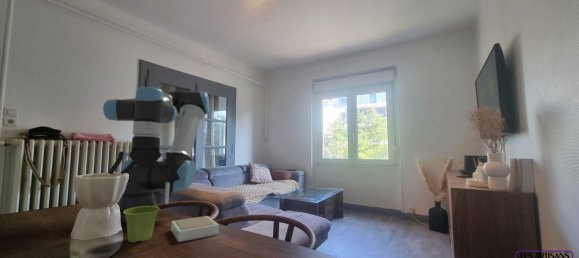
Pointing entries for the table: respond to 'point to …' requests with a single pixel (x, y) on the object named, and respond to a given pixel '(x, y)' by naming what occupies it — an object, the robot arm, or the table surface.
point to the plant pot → (140, 222)
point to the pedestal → (194, 228)
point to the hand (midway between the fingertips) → (141, 205)
